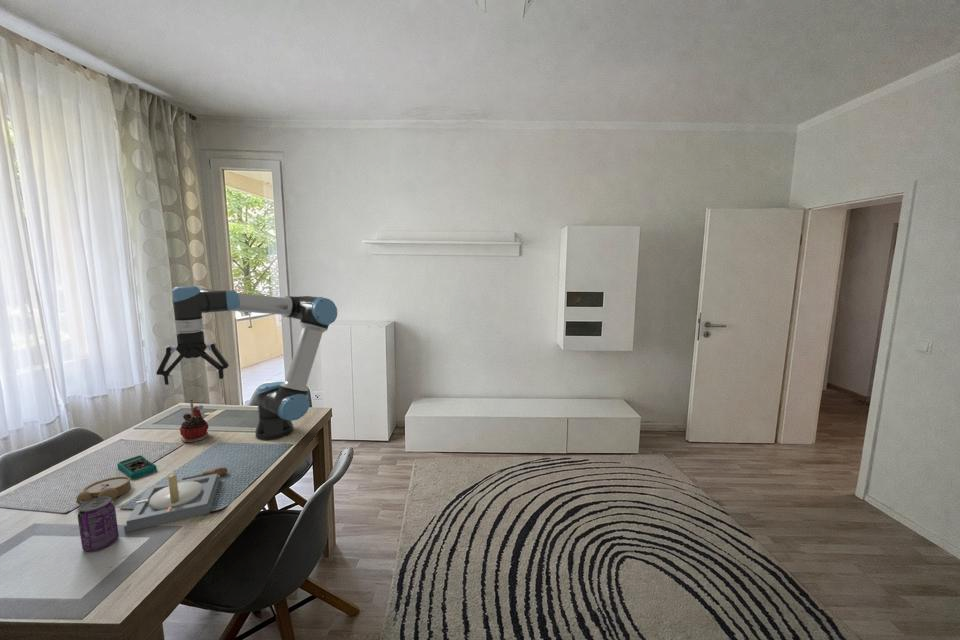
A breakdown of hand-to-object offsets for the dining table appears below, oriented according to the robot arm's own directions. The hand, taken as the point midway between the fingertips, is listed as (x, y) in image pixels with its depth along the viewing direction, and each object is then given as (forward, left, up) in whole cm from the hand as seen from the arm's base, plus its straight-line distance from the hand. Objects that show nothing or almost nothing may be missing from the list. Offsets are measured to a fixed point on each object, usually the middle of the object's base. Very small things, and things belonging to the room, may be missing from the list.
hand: (196, 390), depth 135 cm
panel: (+4, +18, -32) cm, 36 cm away
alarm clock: (+26, +3, -32) cm, 42 cm away
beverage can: (+18, +31, -32) cm, 48 cm away
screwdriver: (-1, +4, -32) cm, 32 cm away
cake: (+9, -35, -32) cm, 48 cm away
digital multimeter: (+23, -14, -32) cm, 42 cm away
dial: (+4, +18, -29) cm, 34 cm away
